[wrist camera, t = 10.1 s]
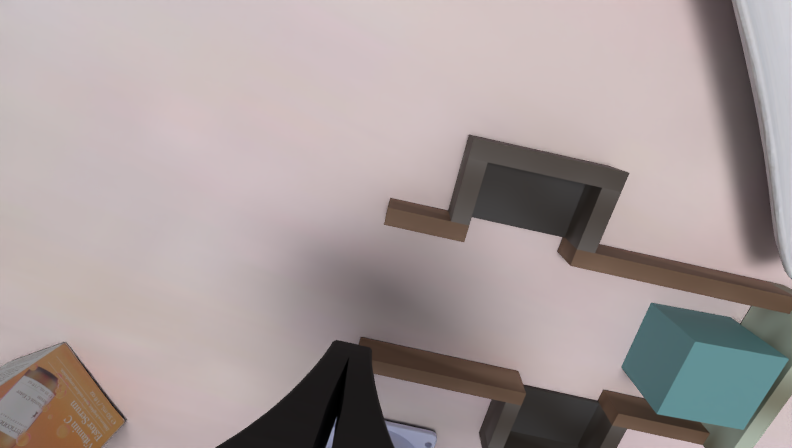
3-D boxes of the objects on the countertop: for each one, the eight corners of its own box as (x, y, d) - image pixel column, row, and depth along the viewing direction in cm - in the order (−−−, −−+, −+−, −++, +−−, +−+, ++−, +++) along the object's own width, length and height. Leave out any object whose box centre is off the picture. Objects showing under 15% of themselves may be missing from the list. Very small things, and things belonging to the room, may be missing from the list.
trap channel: (663, 472, 27) (697, 524, 24) (346, 404, 27) (336, 446, 24) (827, 215, 20) (906, 237, 17) (407, 120, 20) (404, 124, 17)
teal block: (693, 379, 25) (743, 430, 21) (620, 365, 25) (656, 414, 21) (728, 316, 23) (789, 358, 19) (649, 301, 23) (695, 341, 19)
